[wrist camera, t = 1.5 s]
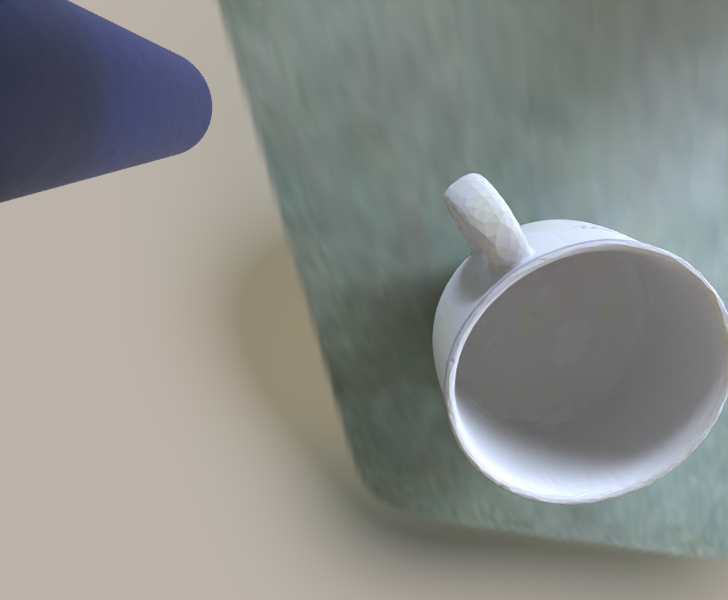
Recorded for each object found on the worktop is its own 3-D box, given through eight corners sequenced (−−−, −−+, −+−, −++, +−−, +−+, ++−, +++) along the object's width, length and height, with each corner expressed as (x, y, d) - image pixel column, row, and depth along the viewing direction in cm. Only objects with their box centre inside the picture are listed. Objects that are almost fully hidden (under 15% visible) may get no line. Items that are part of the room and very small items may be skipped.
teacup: (656, 368, 32) (765, 446, 24) (459, 452, 32) (505, 555, 25) (574, 103, 28) (674, 97, 20) (350, 202, 28) (366, 233, 21)
